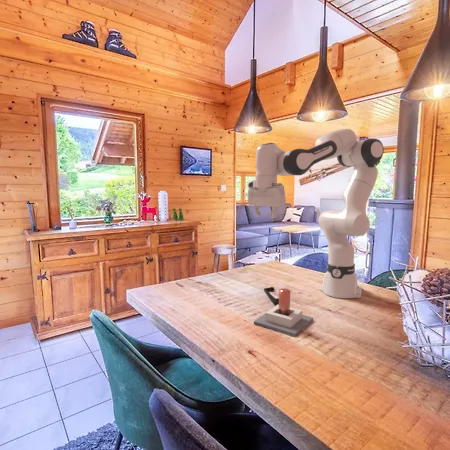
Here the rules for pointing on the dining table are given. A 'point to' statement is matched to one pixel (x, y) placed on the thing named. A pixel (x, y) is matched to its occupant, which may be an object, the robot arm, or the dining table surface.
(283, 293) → the pin
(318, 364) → the dining table surface
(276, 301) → the black hooked rod
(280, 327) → the socket board
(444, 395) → the dining table surface
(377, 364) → the dining table surface
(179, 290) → the dining table surface
